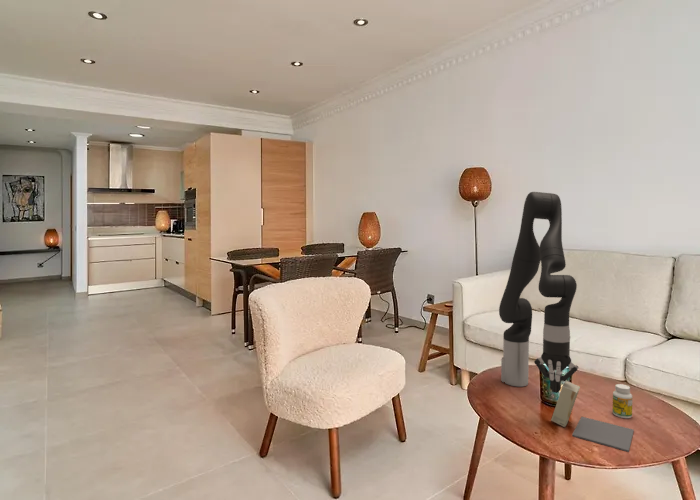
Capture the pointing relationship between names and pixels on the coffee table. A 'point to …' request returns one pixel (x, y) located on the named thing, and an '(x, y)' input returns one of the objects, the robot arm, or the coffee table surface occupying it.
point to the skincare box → (565, 403)
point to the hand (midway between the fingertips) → (555, 391)
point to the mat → (604, 433)
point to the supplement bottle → (622, 401)
